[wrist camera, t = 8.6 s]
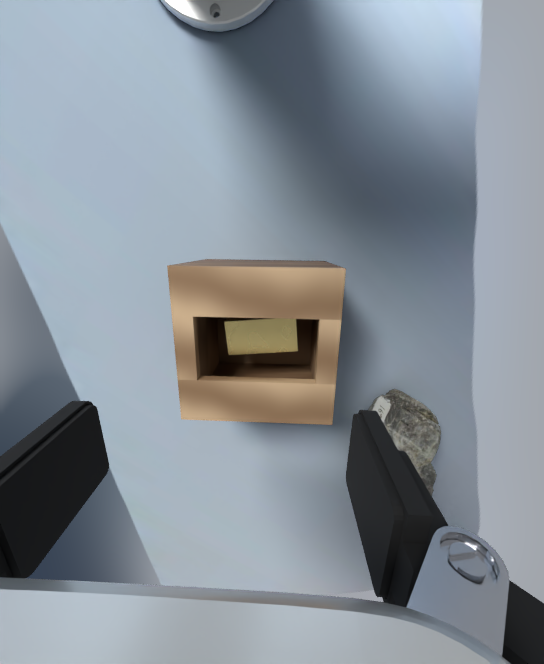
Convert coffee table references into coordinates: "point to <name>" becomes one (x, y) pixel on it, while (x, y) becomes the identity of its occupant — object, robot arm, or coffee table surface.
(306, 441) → the coffee table surface
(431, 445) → the stone
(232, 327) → the brushed brass block
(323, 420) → the box
